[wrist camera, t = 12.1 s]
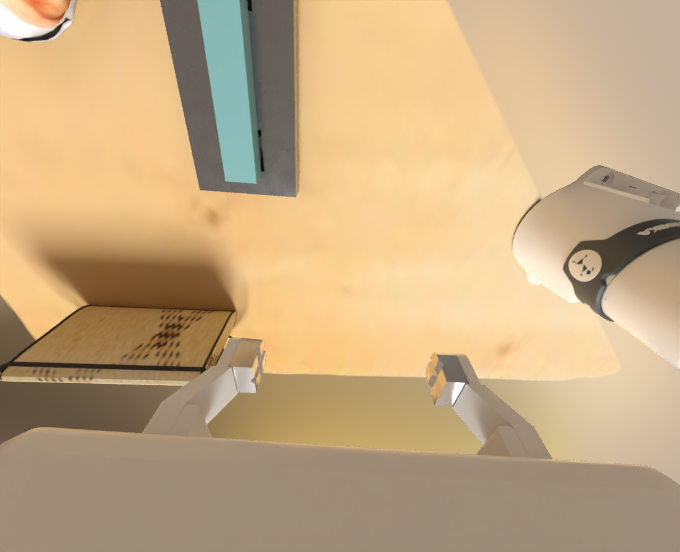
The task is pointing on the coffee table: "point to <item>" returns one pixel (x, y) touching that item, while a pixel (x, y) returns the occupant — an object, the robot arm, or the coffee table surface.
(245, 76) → the peg strip
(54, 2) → the lucky cat figurine
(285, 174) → the hole plate
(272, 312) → the coffee table surface
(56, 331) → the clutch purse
